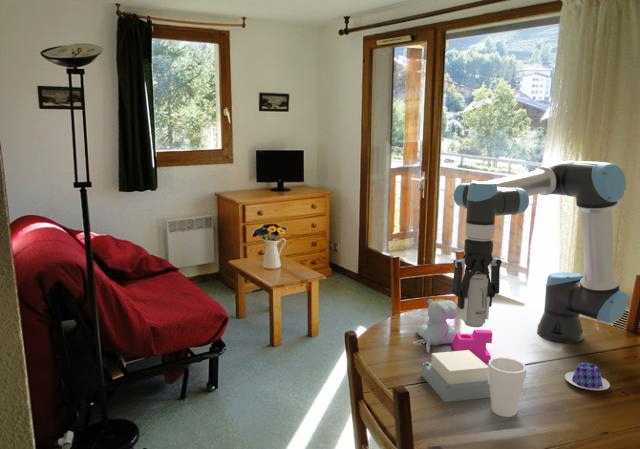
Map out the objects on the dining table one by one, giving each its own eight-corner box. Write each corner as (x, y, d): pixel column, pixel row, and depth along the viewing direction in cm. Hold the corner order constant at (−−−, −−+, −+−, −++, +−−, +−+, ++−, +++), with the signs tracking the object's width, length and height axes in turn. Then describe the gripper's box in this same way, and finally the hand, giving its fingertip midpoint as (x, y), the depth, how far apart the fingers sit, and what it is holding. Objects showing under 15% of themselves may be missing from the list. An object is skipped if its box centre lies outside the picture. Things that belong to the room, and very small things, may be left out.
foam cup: (480, 402, 142) (483, 357, 140) (512, 400, 143) (516, 356, 141) (494, 420, 133) (497, 373, 131) (529, 419, 134) (533, 372, 132)
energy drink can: (479, 329, 142) (483, 277, 140) (459, 324, 146) (462, 273, 143) (488, 323, 147) (491, 272, 144) (468, 318, 151) (471, 268, 148)
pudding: (596, 373, 160) (598, 358, 159) (618, 393, 149) (620, 375, 148) (557, 373, 160) (559, 357, 160) (576, 392, 149) (577, 375, 148)
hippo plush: (469, 342, 182) (471, 300, 179) (427, 353, 173) (429, 309, 170) (440, 329, 195) (441, 289, 193) (399, 338, 186) (400, 297, 183)
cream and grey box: (470, 371, 161) (471, 346, 159) (497, 396, 145) (499, 369, 144) (421, 375, 158) (422, 351, 156) (444, 402, 142) (446, 374, 141)
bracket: (490, 363, 167) (492, 333, 165) (457, 361, 168) (459, 331, 166) (481, 348, 179) (483, 319, 177) (451, 346, 180) (453, 318, 178)
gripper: (502, 234, 148) (496, 311, 152) (441, 236, 144) (436, 316, 148) (517, 239, 141) (511, 320, 145) (453, 242, 137) (449, 325, 141)
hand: (473, 318), depth 146 cm, fingers closed on energy drink can, 6 cm apart
